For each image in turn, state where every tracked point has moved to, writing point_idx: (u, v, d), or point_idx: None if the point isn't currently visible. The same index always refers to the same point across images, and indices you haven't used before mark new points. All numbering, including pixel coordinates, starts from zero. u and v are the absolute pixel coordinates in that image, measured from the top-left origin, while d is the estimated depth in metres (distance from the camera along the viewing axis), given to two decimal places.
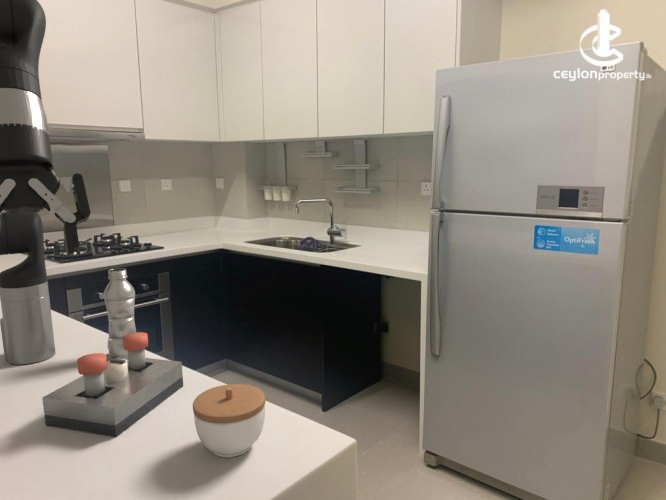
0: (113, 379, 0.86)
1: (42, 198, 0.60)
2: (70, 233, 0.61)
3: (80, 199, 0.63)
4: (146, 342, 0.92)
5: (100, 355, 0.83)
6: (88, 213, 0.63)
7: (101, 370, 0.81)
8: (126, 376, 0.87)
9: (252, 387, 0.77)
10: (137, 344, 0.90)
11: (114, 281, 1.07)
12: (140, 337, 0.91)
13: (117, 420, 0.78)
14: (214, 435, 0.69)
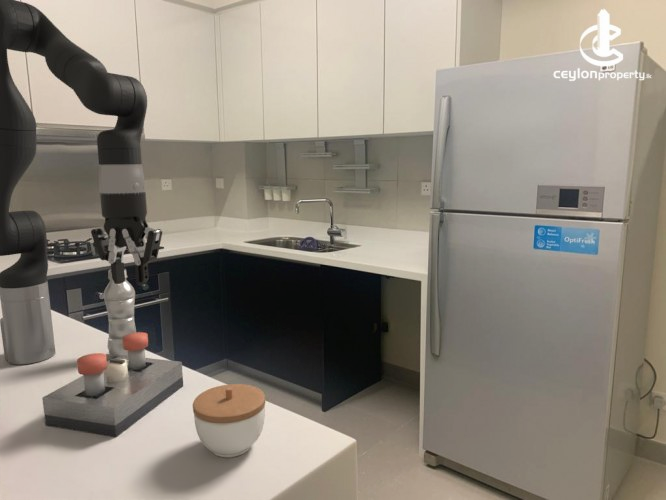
0: (113, 379, 0.86)
1: None
2: (137, 272, 0.88)
3: (147, 249, 0.86)
4: (146, 342, 0.92)
5: (100, 355, 0.83)
6: (147, 260, 0.87)
7: (101, 370, 0.81)
8: (126, 376, 0.87)
9: (252, 387, 0.77)
10: (137, 344, 0.90)
11: None
12: (140, 337, 0.91)
13: (117, 420, 0.78)
14: (214, 435, 0.69)
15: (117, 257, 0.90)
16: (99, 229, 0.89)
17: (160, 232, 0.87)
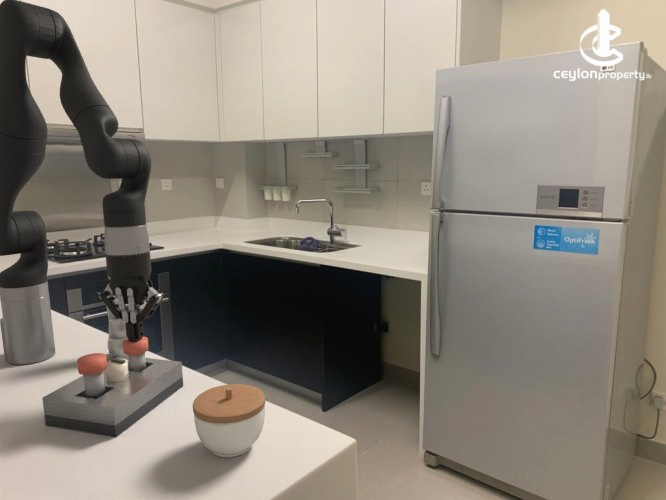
0: (112, 379, 0.86)
1: None
2: (133, 330, 0.90)
3: (145, 309, 0.89)
4: (146, 346, 0.92)
5: (100, 355, 0.83)
6: (142, 319, 0.89)
7: (101, 370, 0.81)
8: (125, 376, 0.87)
9: (252, 387, 0.77)
10: (138, 348, 0.90)
11: None
12: (140, 341, 0.91)
13: (117, 420, 0.78)
14: (214, 435, 0.69)
15: None
16: (106, 291, 0.91)
17: (162, 297, 0.89)
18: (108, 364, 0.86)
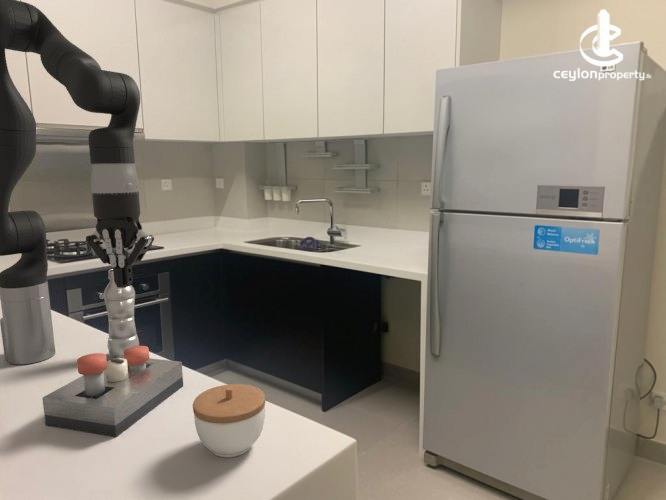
0: (111, 378, 0.86)
1: None
2: (121, 275, 0.86)
3: (133, 252, 0.85)
4: (147, 356, 0.92)
5: (100, 355, 0.83)
6: (130, 263, 0.85)
7: (101, 370, 0.81)
8: (124, 376, 0.87)
9: (252, 387, 0.77)
10: (138, 358, 0.91)
11: None
12: (141, 351, 0.92)
13: (117, 420, 0.78)
14: (214, 435, 0.69)
15: None
16: (93, 234, 0.87)
17: (152, 239, 0.86)
18: (107, 364, 0.86)
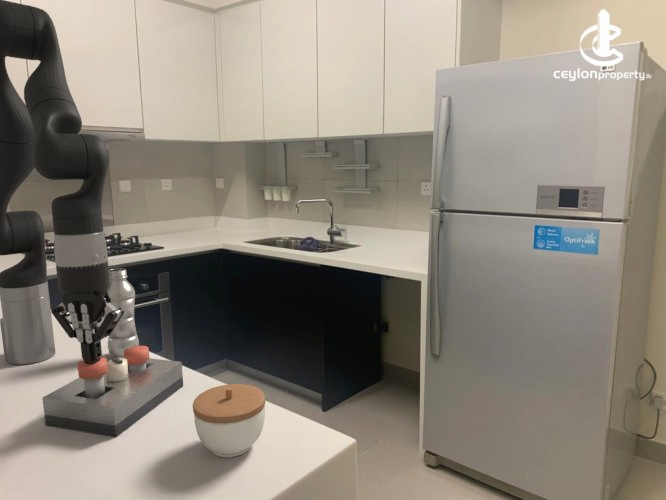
0: (109, 378, 0.86)
1: None
2: (89, 351, 0.80)
3: (101, 328, 0.78)
4: (147, 356, 0.92)
5: (100, 359, 0.83)
6: (98, 339, 0.79)
7: (101, 374, 0.81)
8: (123, 377, 0.87)
9: (252, 387, 0.77)
10: (138, 358, 0.91)
11: (114, 281, 1.07)
12: (141, 351, 0.92)
13: (117, 420, 0.78)
14: (214, 435, 0.69)
15: None
16: (59, 306, 0.81)
17: (121, 313, 0.79)
18: (107, 363, 0.86)
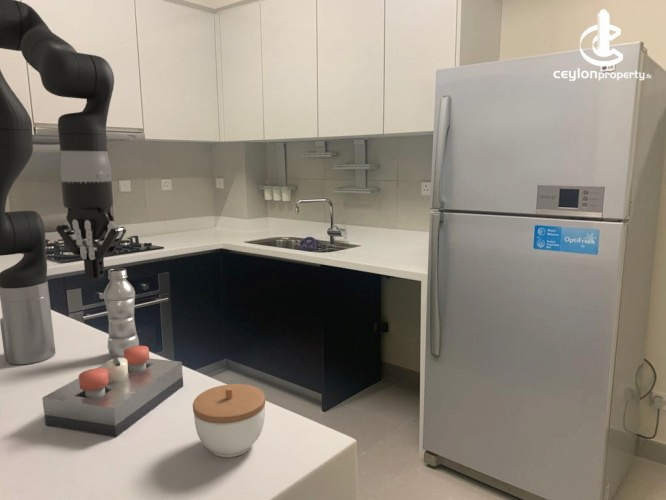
0: None
1: None
2: (92, 267, 0.83)
3: (104, 244, 0.81)
4: (147, 356, 0.92)
5: (101, 370, 0.83)
6: (101, 255, 0.82)
7: (102, 385, 0.81)
8: (120, 379, 0.86)
9: (252, 387, 0.77)
10: (138, 358, 0.91)
11: (114, 281, 1.07)
12: (141, 351, 0.92)
13: (117, 420, 0.78)
14: (214, 435, 0.69)
15: None
16: (64, 224, 0.84)
17: (123, 231, 0.82)
18: (107, 363, 0.87)
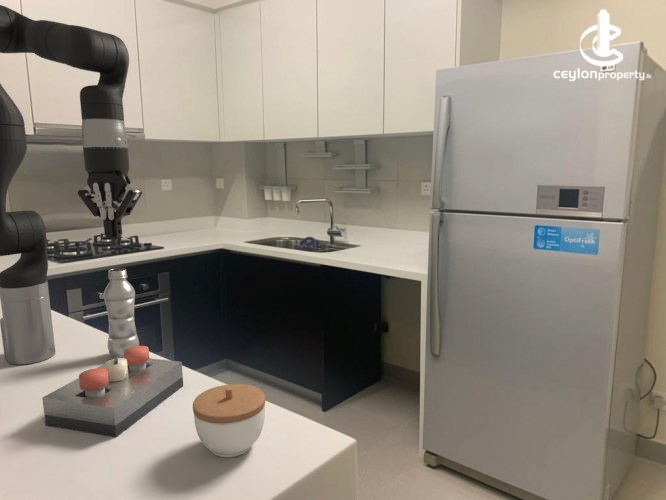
0: None
1: None
2: (111, 227, 0.91)
3: (122, 205, 0.89)
4: (147, 356, 0.92)
5: (101, 370, 0.83)
6: (119, 215, 0.90)
7: (102, 385, 0.81)
8: (118, 378, 0.86)
9: (252, 387, 0.77)
10: (138, 358, 0.91)
11: (114, 281, 1.07)
12: (141, 351, 0.92)
13: (117, 420, 0.78)
14: (214, 435, 0.69)
15: None
16: (85, 189, 0.92)
17: (140, 193, 0.90)
18: (107, 362, 0.87)
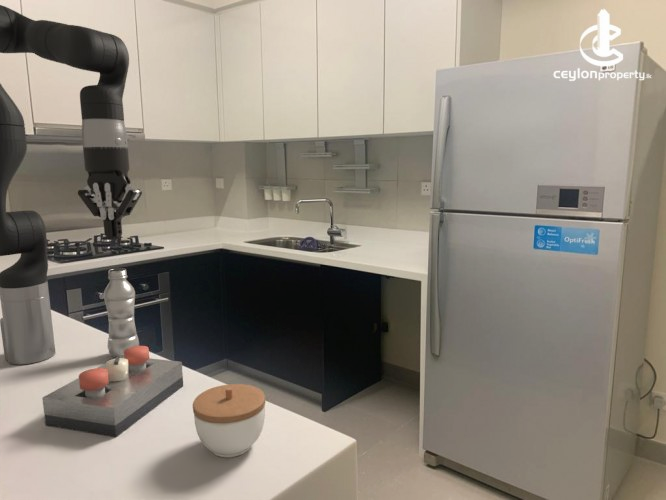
0: None
1: None
2: (111, 227, 0.91)
3: (122, 205, 0.89)
4: (147, 356, 0.92)
5: (101, 370, 0.83)
6: (119, 215, 0.90)
7: (102, 385, 0.81)
8: (117, 378, 0.86)
9: (252, 387, 0.77)
10: (138, 358, 0.91)
11: (114, 281, 1.07)
12: (141, 351, 0.92)
13: (117, 420, 0.78)
14: (214, 435, 0.69)
15: None
16: (85, 189, 0.92)
17: (140, 193, 0.90)
18: (109, 361, 0.87)
